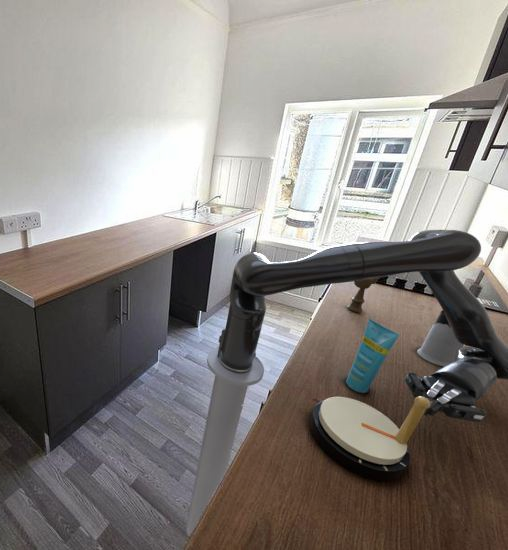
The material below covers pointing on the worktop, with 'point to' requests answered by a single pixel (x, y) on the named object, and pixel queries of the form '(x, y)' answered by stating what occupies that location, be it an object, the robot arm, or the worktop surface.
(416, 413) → the wheel
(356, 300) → the kendama
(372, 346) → the tube
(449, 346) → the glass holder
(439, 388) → the robot arm
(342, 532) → the worktop surface
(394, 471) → the dial base
